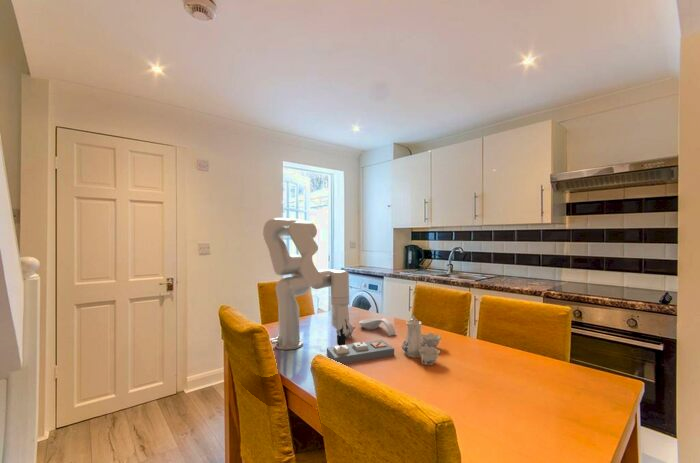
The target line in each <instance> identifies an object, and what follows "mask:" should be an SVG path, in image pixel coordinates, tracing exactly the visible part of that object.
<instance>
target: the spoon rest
mask: <svg viewBox="0 0 700 463" xmlns="http://www.w3.org/2000/svg"><path fill="white" fill-rule="evenodd" d="M358 323H359V325H360V326H361V328H364V329H365V330H369V331H370V330H375V329H377V328H378V327H379V326H380V325H381V323H383V324H384V325H385V326H386V329H387V336H388V337H391V336H395V335H396V330H395V327H394V325H393V323H392V322H391V321H390V320H388V319H387V318H381V319H379V318H365V319H363V320H362V319H361V320H359V322H358Z"/></svg>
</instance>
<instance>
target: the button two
mask: <svg viewBox="0 0 700 463" xmlns="http://www.w3.org/2000/svg"><path fill="white" fill-rule="evenodd" d="M352 344H353V349H354V350H355V351H362V350H368V345H367V344H366V343H364V341H360V342H359V341H358V342H352Z"/></svg>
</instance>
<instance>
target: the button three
mask: <svg viewBox="0 0 700 463" xmlns="http://www.w3.org/2000/svg"><path fill="white" fill-rule="evenodd" d="M371 346H373V347H374V348H382V347H386V345H385V344H384V343H382V342H375V343H371Z"/></svg>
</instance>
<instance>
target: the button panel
mask: <svg viewBox="0 0 700 463" xmlns="http://www.w3.org/2000/svg"><path fill="white" fill-rule="evenodd" d="M363 342H364V341H363ZM375 342H382V343H384V344H385V345H386V347H382V348H374V347H373V346H371V343H375ZM364 343H366V344H367V345H368V350H362V351H355V350H354V349H353V343H349V344H345V345H346V346H347V347H348V348H349V353H343V354H336V353H335V352H334V346H331V347H330V346H329V347H326V355H327V357H328V358H329V359H330V358H331V359H333V360H335V361H337V362H340V363H342V364H341V365H347V364H351V363H357V362H358V363H359V362H364V361H370V360H376V359H382V358H388V357H393V356H395V347H393V346H391V344H388V343H387V342H386V341H384V340H383V339H377V340H372V341H365V342H364ZM331 359H330V360H331Z"/></svg>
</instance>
